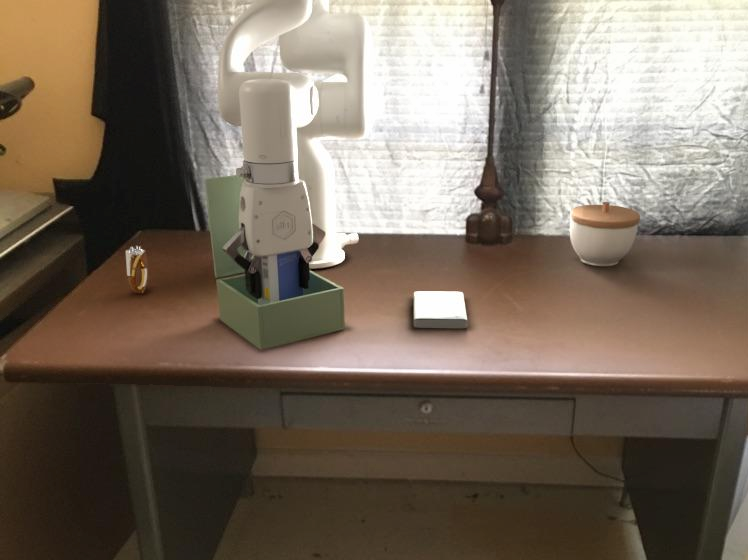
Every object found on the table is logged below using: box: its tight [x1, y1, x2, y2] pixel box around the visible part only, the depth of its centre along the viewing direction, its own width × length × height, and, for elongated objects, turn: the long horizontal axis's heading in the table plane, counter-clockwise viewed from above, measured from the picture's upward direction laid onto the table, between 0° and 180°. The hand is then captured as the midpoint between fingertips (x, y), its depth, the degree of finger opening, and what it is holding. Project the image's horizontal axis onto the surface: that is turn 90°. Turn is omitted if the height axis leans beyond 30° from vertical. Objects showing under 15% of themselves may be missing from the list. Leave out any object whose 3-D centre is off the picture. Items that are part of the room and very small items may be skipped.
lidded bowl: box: [569, 201, 641, 267], centre depth 158 cm, size 13×13×11 cm
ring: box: [125, 245, 150, 294], centre depth 141 cm, size 7×3×8 cm, turn 172°
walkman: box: [257, 251, 303, 305], centre depth 127 cm, size 8×3×12 cm, turn 148°
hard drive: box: [413, 290, 468, 329], centre depth 135 cm, size 2×8×12 cm
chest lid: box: [203, 174, 246, 279], centre depth 129 cm, size 15×14×1 cm
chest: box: [215, 269, 346, 351], centre depth 129 cm, size 14×14×7 cm
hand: (278, 290), depth 128 cm, fingers closed on walkman, 7 cm apart
